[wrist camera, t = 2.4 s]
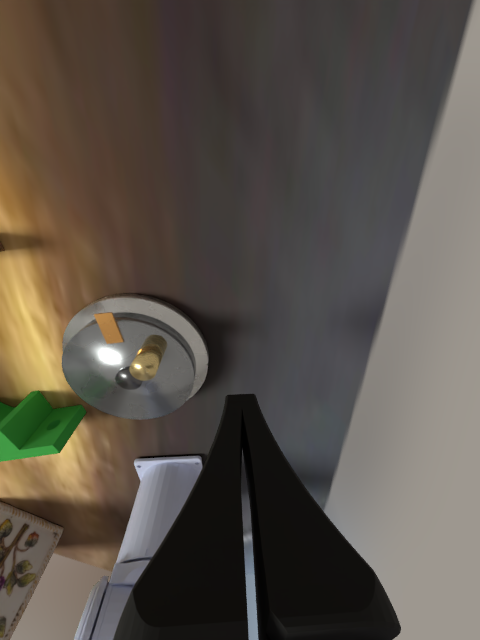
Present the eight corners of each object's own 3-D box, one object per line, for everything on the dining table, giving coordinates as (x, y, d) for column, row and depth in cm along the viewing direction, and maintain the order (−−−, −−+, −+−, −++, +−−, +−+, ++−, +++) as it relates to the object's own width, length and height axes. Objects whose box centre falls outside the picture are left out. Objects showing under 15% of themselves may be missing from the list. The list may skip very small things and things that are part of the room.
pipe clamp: (70, 383, 22) (35, 425, 18) (88, 410, 24) (60, 453, 20) (-40, 401, 23) (-99, 446, 18) (-15, 426, 24) (-63, 472, 20)
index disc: (158, 420, 23) (144, 466, 19) (54, 373, 20) (11, 418, 16) (219, 355, 20) (217, 396, 16) (106, 286, 16) (66, 315, 12)
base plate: (212, 400, 24) (212, 407, 23) (94, 405, 23) (89, 413, 22) (203, 291, 18) (201, 296, 17) (46, 295, 18) (37, 300, 17)
